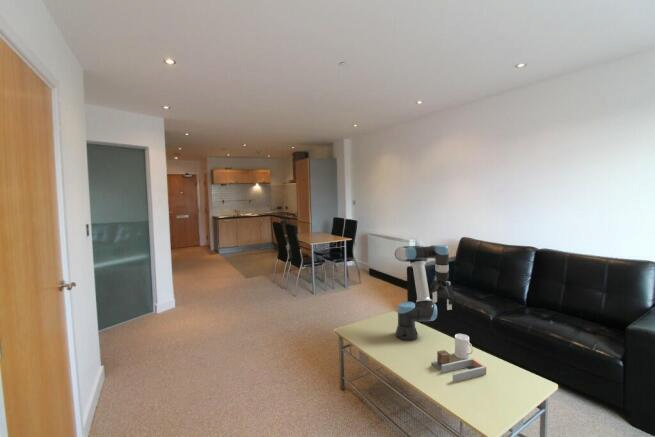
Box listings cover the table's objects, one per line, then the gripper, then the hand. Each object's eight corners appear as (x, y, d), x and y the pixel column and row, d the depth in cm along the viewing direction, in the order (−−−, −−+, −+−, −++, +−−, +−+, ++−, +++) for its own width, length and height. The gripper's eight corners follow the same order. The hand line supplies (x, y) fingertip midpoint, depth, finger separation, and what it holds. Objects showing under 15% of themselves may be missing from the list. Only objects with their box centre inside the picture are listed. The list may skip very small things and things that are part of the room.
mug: (477, 359, 188) (477, 340, 187) (465, 363, 185) (466, 343, 184) (462, 351, 199) (462, 332, 198) (451, 353, 196) (451, 335, 195)
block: (437, 362, 185) (437, 351, 185) (444, 361, 186) (444, 349, 186) (442, 367, 180) (442, 355, 180) (450, 365, 182) (450, 354, 181)
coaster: (431, 363, 186) (431, 362, 186) (442, 360, 188) (442, 359, 188) (439, 370, 178) (439, 369, 178) (451, 367, 181) (451, 366, 180)
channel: (441, 371, 177) (441, 364, 177) (472, 364, 183) (472, 357, 183) (454, 382, 167) (454, 374, 167) (486, 374, 173) (486, 367, 173)
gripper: (424, 267, 200) (424, 300, 202) (450, 276, 176) (450, 313, 178) (434, 266, 202) (434, 298, 204) (461, 275, 179) (461, 312, 180)
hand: (441, 305), depth 191 cm, fingers open, 13 cm apart
